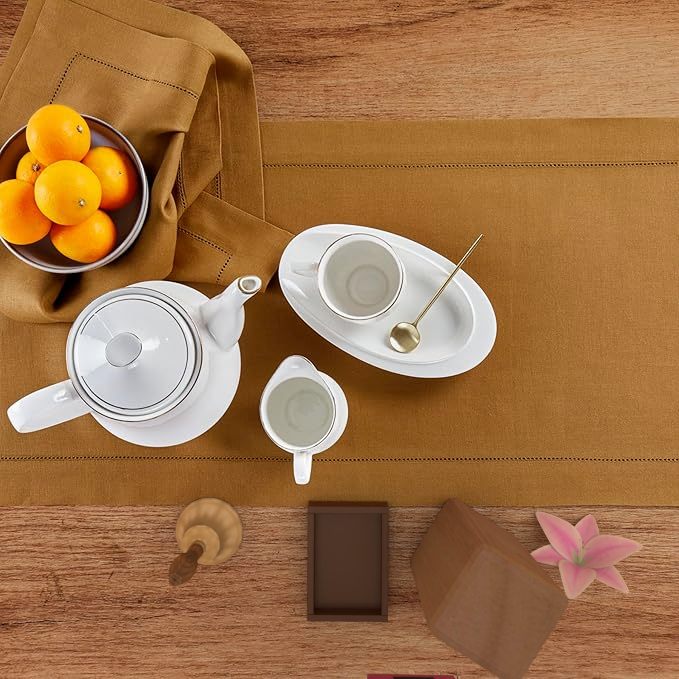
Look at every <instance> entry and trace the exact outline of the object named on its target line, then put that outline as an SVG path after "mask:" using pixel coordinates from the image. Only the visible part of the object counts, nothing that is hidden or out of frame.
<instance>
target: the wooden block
mask: <svg viewBox="0 0 679 679" xmlns="http://www.w3.org/2000/svg"><path fill="white" fill-rule="evenodd" d="M530 553H531V552H530V551H528V549H527V548H526V547H525V546H524V545H523V544H522V543H521V541H520V540H519V539H518V538H517V536H515V535H514V534H513V533H512V532H510V531H509V530H508V529H505V528H504V527H502V526H500V525H499V524H498V523H497V522H495V521H493V520H492V519H490V518H488V517H487V516H485V515H483V514H482V513H480V512H479V511H477V510H475V508H474V509H473V508H472V507H471V506H469V505H468V504H466V503H465V502H463V501H461V500H460V499H459V498H453V497H451V498H449V499H448V500H447V501H446V502H445V503H444V504H443V507H442V508H441V510H439V513H438V514H437V516H436V517H435V519H434V520H433V522H432V524H431V525H430V527H429V528H428V530H426V533H425V535H424V536H423V537H422V539H421V540H420V542H419V544H418V546H417V547H416V548H415V550H414V552H413V554H412V555H411V557H410V560H409V566H410V570H411V572H412V576H413V581H414V583H415V587H416V591H417V594H418V597H419V601H420V605H421V608H422V611H423V615H424V619H425V622H426V625H427V628H428V631H429V632H430V633H431V636H432V637H434V638H436V639H437V640H439V641H441V642H442V643H444V644H445V645H446V646H448V647H450V648H451V649H453V650H454V651H456V652H458V653H459V654H461V655H462V656H464V657H466V658H467V659H469V660H470V661H471V662H473V663H474V664H476V665H478V666H479V667H481V668H483V669H484V670H485V671H487V672H489V673H490V674H492V675H493V676H495V677H497V679H523V677H524V676H525V675H526V673H527V672H528V670H529V669H530V667H531V665H532V663H533V662H534V660H535V659H536V657H537V656H538V654H539V653H540V651H541V650H542V648H543V646H544V645H545V643H546V641H547V640H548V638H549V637H550V635H551V634H552V632H554V631H553V630H554V629H555V627H556V626H557V624H558V623H559V622H560V620H561V618H562V616H563V615H564V614H565V612H566V611H567V609H568V606H569V598H568V597H567V595H566V593H565V591H564V590H563V589H562V588H561V587H560V586H559V584H557V583H556V581H555V580H554V579H553V578H552V577H551V575H550V574H549V573H548V572H547V571H546V570H545V568H544V567H543V566H542V565H541V564H540V562H537V561H536V560H535V559H534V557H533V556H532V555H531V554H530Z"/></svg>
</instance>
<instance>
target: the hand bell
mask: <svg viewBox="0 0 679 679" xmlns="http://www.w3.org/2000/svg"><path fill="white" fill-rule="evenodd" d="M174 529H175V531H174V532H175V539H176V543H177V546H178V547H179V549H180V551H181V552H182V553H181V554H179V555H177V556H176V557H175V558H174V559H173V560H172V562H171V564H170V566H169V568H168V583H169V585H170V586H171V587H179V586H180V585H184V584H187V583H188V582H190V580H192V578H193V577H194V576H195V575H196V572H197V570H198V566H199V565H201V566H202V565H203V566H215V565H219V564H222V563H225V562H227V561H228V560H229V559H231V558H232V557H233V556H235V554H236V553H237V552H238V550H239V548H240V546H241V544H242V541H243V536H244V525H243V522H242V519H241V516H240V515H239V513H238V512H237V510H236V509H235V508H234V507H233V506H232V505H231V504H229V503H228V502H227V501H224V500H222V499H220V498H216V497H202V498H199V499H196V500H193V501H192V502H190V503H189V504H188V505H186V506H185V507H184V508H183V509H182V511H181V512H180V513H179V516H178V518H177V519H176V524H175V528H174Z"/></svg>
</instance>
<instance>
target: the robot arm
mask: <svg viewBox="0 0 679 679" xmlns="http://www.w3.org/2000/svg"><path fill="white" fill-rule="evenodd" d="M393 679H434V677H393Z"/></svg>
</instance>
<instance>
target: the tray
mask: <svg viewBox="0 0 679 679" xmlns="http://www.w3.org/2000/svg"><path fill="white" fill-rule="evenodd" d="M389 508H390V507H389V504H388V501H380V500H379V501H376V500H375V501H373V500H371V501H370V500H367V501H365V500H364V501H363V500H362V501H361V500H309V501H308V504H307V530H306V531H307V533H306V534H307V537H306V538H307V539H306V540H307V543H306V544H307V547H306V549H307V550H306V552H307V553H306V554H307V557H306V559H307V560H306V561H307V562H306V563H307V564H306V566H307V568H306V571H307V572H306V586H307V587H306V622H326V623H328V622H330V623H331V622H332V623H333V622H336V623H340V622H341V623H345V622H346V623H388V622H389V535H390V534H389V526H390V524H389V521H390V520H389V519H390V518H389V517H390V516H389V512H390V510H389Z"/></svg>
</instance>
